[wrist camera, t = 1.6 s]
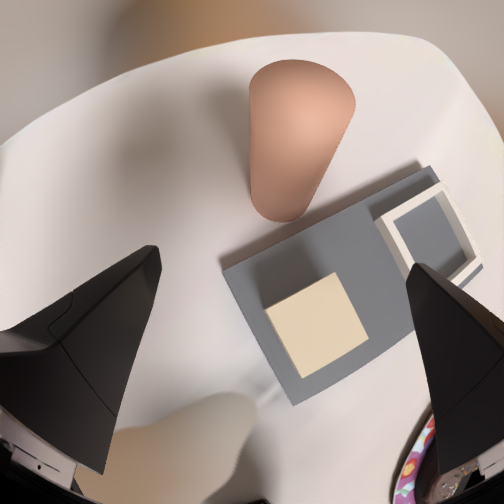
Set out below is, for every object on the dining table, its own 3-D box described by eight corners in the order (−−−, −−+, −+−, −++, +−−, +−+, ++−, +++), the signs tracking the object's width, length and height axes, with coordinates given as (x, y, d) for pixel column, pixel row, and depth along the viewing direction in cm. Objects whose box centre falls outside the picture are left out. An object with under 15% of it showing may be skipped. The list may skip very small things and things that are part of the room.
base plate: (474, 269, 23) (508, 260, 18) (290, 400, 21) (301, 425, 16) (423, 171, 25) (449, 146, 20) (223, 274, 23) (214, 263, 18)
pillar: (309, 225, 24) (361, 141, 11) (248, 219, 24) (243, 127, 11) (310, 171, 25) (349, 67, 12) (253, 166, 25) (253, 55, 12)
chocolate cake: (412, 550, 15) (430, 572, 9) (353, 451, 20) (378, 484, 14) (540, 429, 18) (564, 435, 11) (520, 293, 23) (555, 287, 16)
